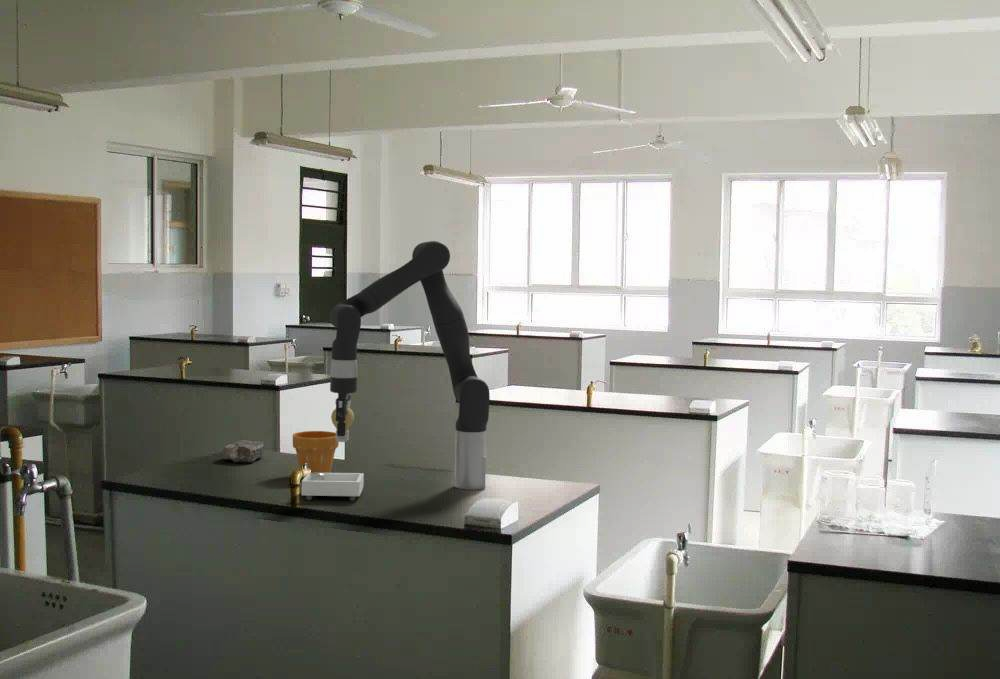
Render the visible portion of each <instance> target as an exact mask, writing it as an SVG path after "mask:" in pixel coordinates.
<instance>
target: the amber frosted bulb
mask: <svg viewBox="0 0 1000 679" xmlns="http://www.w3.org/2000/svg"><path fill="white" fill-rule="evenodd" d="M345 411H346V410H345ZM339 417H343V415H339ZM330 418H331V422H332V424H333V426H334V427H335V429H336V430H335V433H336V440H337V441H338V442H339V443H346V442H348V441H349V440H350V434H349V433H350V430H349V428H350V427H351V426H352V425H353V423H354V421H355V413H354V410H352V409H351V407H350V408H349V410H348V415H346V425H345V436H337V422H336V408H334V409H333V411H332V413H331V416H330Z"/></svg>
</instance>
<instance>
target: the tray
mask: <svg viewBox="0 0 1000 679" xmlns="http://www.w3.org/2000/svg"><path fill="white" fill-rule="evenodd" d="M364 480H365V478H364V472H362V473H360V472H330V473H325V481H310V473H308V474H307V475H306V476H305V477H303V479H302V480H301V496H306V500H307V501H312V499H313V496H314V497H316V496H318V497H319V496H321V497H322V496H323V497H324V496H325V497H326V496H327V497H349V500H350V502H354V501H355V500H356V497H360V496H361V494H362V491H363V489H364V484H365V483H364Z"/></svg>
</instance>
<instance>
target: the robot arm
mask: <svg viewBox="0 0 1000 679" xmlns="http://www.w3.org/2000/svg"><path fill="white" fill-rule="evenodd" d="M411 257H412V258H411V259H410V260H409V261H408V262H406V263H404V264H403V265H402V266H401V267H399V268H397V269H395V270H393V271H391V272H390V273H387V274H386V275H383V276H382V277H380V278H378V279H377V280H375V281H373V282H372V283H371V284H369V285H367V286H366V287H365V288H364V289H362V290H361V291H360V292H358V293H357V294H354V295H352V296H350V297H348V298H347V299H345V300H343V301H341V302H339V303H338V304H336V305H335V306H333V308H332V309H331V310H330V313H329V321H330V323H331V325H332V326H334V327H335V328H336V335H335V339H333V341H332V344H331V362H330V372H329V373H330V378H329V379H330V380H329V382H330V383H329V384H330V385H329V391H330V392H331V393H333V394H334V393H335V394H337V398H335V409H336V422H337V429H336V430H337V436H345V425H346V415H348V410H349V408H350V409H351V403H352V397H351V395H350V394H355V393H357V391H358V361H357V360H358V340H359V338H360V332H361V328H362V327H361V325H362V317H364V316H366V315H369V314H373V313H375V312H377V311H378V310H379V309H381V308H382V307H384V306H385V305H386V304H387V303H389V302H391V301H393V299H395V298H396V297H398V296H399V295H401V294H402V293H403V292H405V291H406V290H407V289H409V288H410V287H412V286H413V285H415V284H417V283H419V282H420V283H421V286H422V289H423V292H424V294H425V297H426V301H427V304H428V309H429V311H430V314H431V315H430V316H431V319H432V322H433V323H432V324H433V326H434V329H435V333H436V336H437V338H438V341H439V344H440V347H441V350H442V352H443V355H444V358H445V361H446V363H447V366H448V370H449V376H450V380H451V386H452V392H453V395H454V398H455V400H456V401H457V402H458V403H459V405H458V406H459V407H458V408H459V409H458V416H457V419H456V421H455V435H454V436H455V438H454V439H455V440H454V442H455V443H454V444H455V445H454V480H453V481H454V488H456V489H460V490H481V489H486V475H487V474H486V472H487V471H486V469H487V468H486V467H487V466H486V465H487V464H486V463H487V455H486V454H487V452H486V450H487V425H488V422H489V416H490V415H489V413H490V388H489V386H488V384H487V383H486V381H485V380H483V379H481V378H479V377H478V375H477V373H476V370H475V367H474V365H473V362H472V359H471V353H470V352H471V350H470V335H469V330H468V325H467V322H466V319H465V316H464V313H463V310H462V307H461V306H460V305H459V304H460V303H458V300H456V297H455V296H454V295H453V293H452V291H451V290H450V288H449V285H448V284H447V281H446V279H445V274H444V269H445V268H446V267H447V266H448V265H449V263H450V259H451V252H450V249H449V247H448V246H447V245H446V244H445V243H444V242H441V241H436V240H431V241H424V242H421V243H418V244H417V245H415V247H414V249H413V250H412V254H411ZM345 410H346V411H345ZM339 415H343V417H339Z"/></svg>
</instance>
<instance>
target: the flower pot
mask: <svg viewBox="0 0 1000 679" xmlns="http://www.w3.org/2000/svg"><path fill="white" fill-rule="evenodd" d="M339 443H340V442H338V441H337V440H336V432H333V431H325V430H309V431H308V430H305V431H304V430H303V431H300V432H299V431H298V432H295V433H292V447H293V448H294V450H295V452H296V457H297V463H298V468H299V467H301V466H302V465H304V464H305V463H309V467H310V468H311V473H313V472H323V473H331V472H332V471H331V470H332V468H333V467H332V466H333V462H334V458H335V453H336V449H338V447H339V445H340V444H339Z"/></svg>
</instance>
